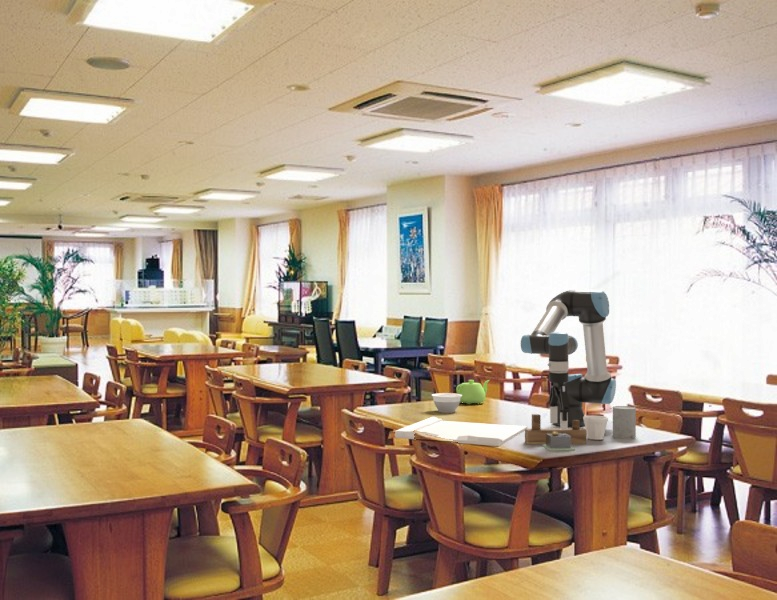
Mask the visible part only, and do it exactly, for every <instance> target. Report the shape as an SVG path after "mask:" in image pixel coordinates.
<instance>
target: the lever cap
mask: <svg viewBox="0 0 777 600" xmlns="http://www.w3.org/2000/svg"><path fill="white" fill-rule="evenodd" d="M546 445H547V446H548V447H550V448H571V447H572V444H571V436H570V435H568V434H566V433H559V432H556V431H553V432H552V434H546Z"/></svg>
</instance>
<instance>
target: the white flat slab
mask: <svg viewBox="0 0 777 600" xmlns="http://www.w3.org/2000/svg"><path fill="white" fill-rule="evenodd" d="M525 429H528V426H526V425H512V424H511V425H510V424H496V423H483V422H482V423H481V422H467V421H452V420H443V418H438V417H436V416H434V415H433V416H431V417H428V418H426V419H423V420H419V421H418V422H415V423H411V424H409V425H407V426H404V427H401V428H399V429H396V430H394V431H395V433H394V437H395V438H396V439H405V440H406V439H408V440H415V439H414V437H415V436H414V434H415V433H416V432H413V431H414V430H417V431H420V433H425V434H428V435H432V436H436V437H441V438H445V439H449V440H453V441H456V442H458V443H457V444H467V445H468V444H469V445H480V446H482V445H483V446H493V447H501V446H502V445H503V444H505V443H507V442H508V441H510V440H512V439H514V438H515V437H517V436H518V435H520V434H522V433H523V432H524V433H525Z"/></svg>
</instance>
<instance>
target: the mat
mask: <svg viewBox="0 0 777 600" xmlns="http://www.w3.org/2000/svg"><path fill="white" fill-rule="evenodd" d="M541 445H542V447H543V448H545V449H546V450H548V451H558V452H559V451H576V448H574V447H572V446H571V448H550V447H548V446H547V445H546V444H541Z"/></svg>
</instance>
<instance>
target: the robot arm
mask: <svg viewBox="0 0 777 600" xmlns="http://www.w3.org/2000/svg"><path fill="white" fill-rule="evenodd" d="M545 308H546V309H545V310H546V311H545V313H544V314H543V315H542V317H541V318H540V320H539V322H537V323H538V324H536V326H535V328H534V329H533V331H532V333H531V334H525V335H522V337H521V339H520V349H521V352H522V353H524V354H531V355H532V354H538V355H548V363H547V367H548V371H549V372H548V381H549V383H550V388H549V389H550V390H549V397H548V404H549V407H550V408H549V410H550V411H549V415H550V416H549V417H550V418H549V419H550V420H549V421H550V422H549V423H550V424H553V425H555V426H559V428H560V429H568V428H569V427H570V428H572V420H580V427H585V424H584V420H583V417H584V416H586V415H585V412H584V410H583V409H584V408H583V403H586V404H587V403H588V404H598V405H600V404H601V405H604V404H605V405H610V404H612V402H613V401H614V398H615V394H616V390H617V389H616V388H617V380H616V379H615V378H612V374H611V373H610V372H609V371H608V367H607V365H608V364H607V357H606V345H605V344H606V343H605V336H604V335H605V333H604V322H605V321H606V320H607V317H608V316H609V314H610V301H609V298H608V296H607V294H606V292H605V291H604V290H599V289H598V290H596V289H587V290H586V289H580V290H579V289H573V290H572V289H569V290H565V291H562V292H560V293H559V294H557V295H556V296H554V297H553V298H551V300H550V301H549V302H548V304H547V305H546V307H545ZM567 317H578V322H579V323H581V324H582V330H583V339H584V347H585V348H584V349H585V358H586V367H587V369H586V370H587V371H586V373H585V375H584V376H583V374H582V373H573V374H571V373H570V374H569V371H570V370H569V369H570V367H569V365H570V364H569V355H572V354H573V353H575V352H577V349H578V348H579V347H578V346H579V343H578V340H577V338H575V337H574V336H572V335H569V333H567V332H564V331H563V332H562V331H561V332H559V331H556V330H557V328H558V326H559V325H560V323H561V321H563V320H565V319H566V318H567Z"/></svg>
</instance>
